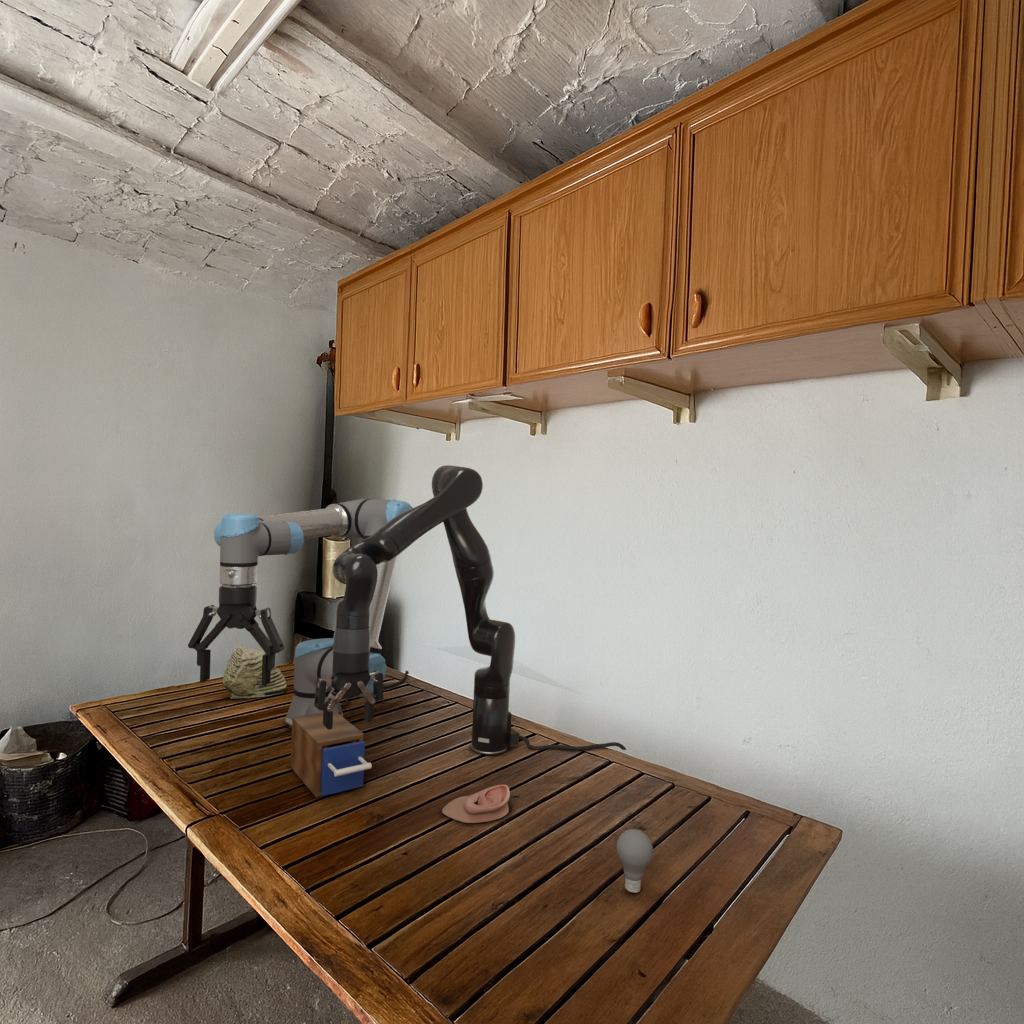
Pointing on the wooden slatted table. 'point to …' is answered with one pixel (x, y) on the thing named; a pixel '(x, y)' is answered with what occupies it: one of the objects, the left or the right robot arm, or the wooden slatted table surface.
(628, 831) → the light bulb
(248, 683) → the fossil
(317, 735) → the cabinet
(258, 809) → the wooden slatted table surface
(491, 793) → the anatomical model
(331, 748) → the drawer
